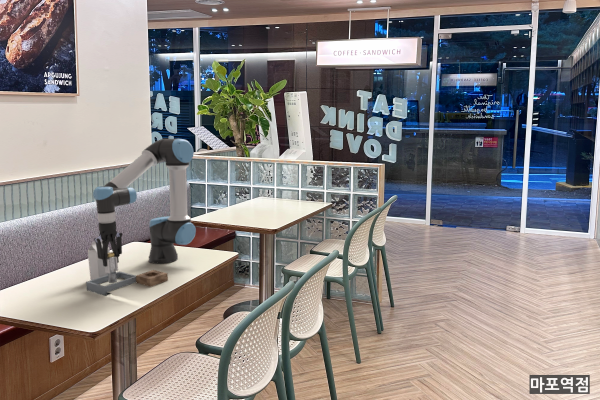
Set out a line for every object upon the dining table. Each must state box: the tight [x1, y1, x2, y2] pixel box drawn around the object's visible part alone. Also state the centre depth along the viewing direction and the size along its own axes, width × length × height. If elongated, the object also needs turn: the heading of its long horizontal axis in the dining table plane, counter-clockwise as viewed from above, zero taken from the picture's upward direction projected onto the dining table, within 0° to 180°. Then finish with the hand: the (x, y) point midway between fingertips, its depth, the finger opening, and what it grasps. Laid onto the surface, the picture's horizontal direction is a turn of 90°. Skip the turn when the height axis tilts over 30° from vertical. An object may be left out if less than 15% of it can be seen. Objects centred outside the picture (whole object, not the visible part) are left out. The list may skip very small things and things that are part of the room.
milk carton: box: [87, 239, 111, 281], centre depth 260 cm, size 7×7×19 cm
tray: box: [85, 270, 137, 297], centre depth 249 cm, size 18×14×4 cm
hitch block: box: [135, 269, 169, 288], centre depth 251 cm, size 10×10×5 cm
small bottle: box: [107, 251, 118, 284], centre depth 248 cm, size 4×4×14 cm
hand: (111, 271), depth 248 cm, fingers closed on small bottle, 3 cm apart
